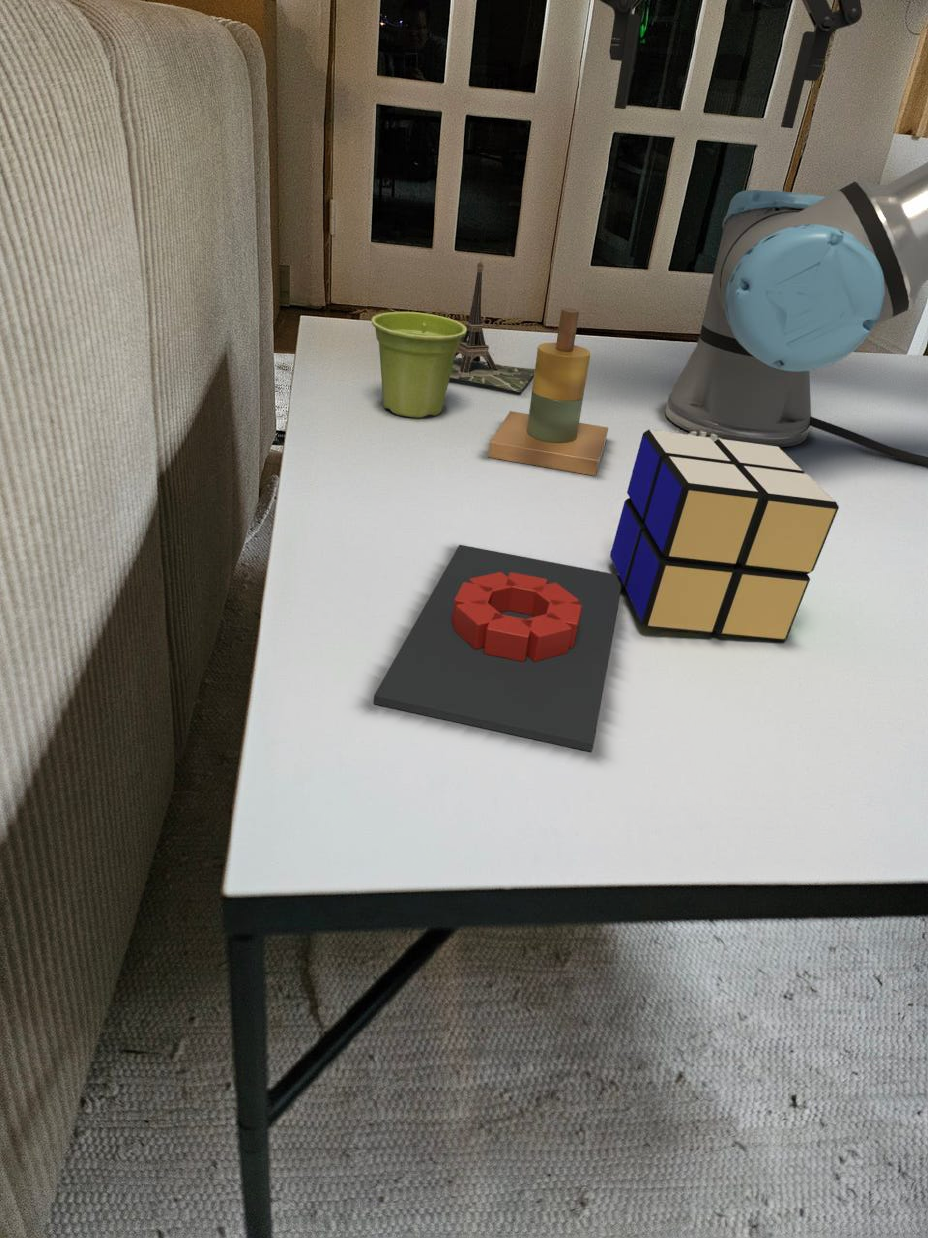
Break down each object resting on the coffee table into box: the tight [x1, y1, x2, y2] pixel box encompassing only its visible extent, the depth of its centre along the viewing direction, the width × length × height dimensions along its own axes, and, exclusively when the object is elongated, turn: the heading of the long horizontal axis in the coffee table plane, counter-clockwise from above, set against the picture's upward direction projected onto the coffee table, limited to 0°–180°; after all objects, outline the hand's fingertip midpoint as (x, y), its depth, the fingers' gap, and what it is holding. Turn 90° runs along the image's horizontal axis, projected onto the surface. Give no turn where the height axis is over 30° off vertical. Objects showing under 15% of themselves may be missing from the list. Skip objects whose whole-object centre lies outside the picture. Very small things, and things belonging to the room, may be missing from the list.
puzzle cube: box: [609, 429, 840, 642], centre depth 60 cm, size 10×10×10 cm
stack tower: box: [487, 307, 609, 477], centre depth 84 cm, size 10×10×13 cm
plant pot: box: [371, 311, 467, 419], centre depth 91 cm, size 9×9×9 cm
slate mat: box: [373, 544, 623, 752], centre depth 57 cm, size 12×20×1 cm, turn 167°
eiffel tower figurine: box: [450, 252, 535, 393], centre depth 104 cm, size 15×10×13 cm
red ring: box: [452, 572, 582, 662], centre depth 56 cm, size 8×8×2 cm
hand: (702, 118), depth 75 cm, fingers open, 13 cm apart
